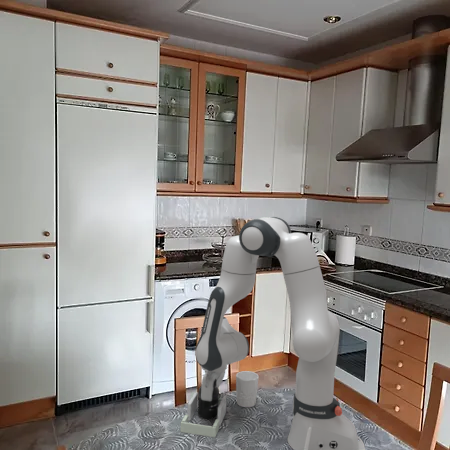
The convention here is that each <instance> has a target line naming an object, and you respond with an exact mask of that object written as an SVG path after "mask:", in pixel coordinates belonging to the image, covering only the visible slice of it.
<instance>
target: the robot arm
mask: <svg viewBox="0 0 450 450" xmlns="http://www.w3.org/2000/svg"><path fill="white" fill-rule="evenodd" d="M291 229H292V228H291V226H290V225H289V223H288V222H287V221H286V220H284V218H283V219H282V218H280V217H278V216H271V217H269V216H268V217H267V216H264V217H263V216H262V217H259V218H255V219H251V220H249V221H247V223H245V224H243V226H242V227H241V229H240V232H239V234H238V235H234V236H232V237H230V238H229V239H227V242H226V243H225V244H226V245H225V248H224V251H223V255H222V263H221V271H220V275H219V276H220V277H219V278H218V282H217V284H216V286H215V287H214V289H213V290H212V291H211V293H210V295H209V297H208V298H209V299H208V301H207V306H206V310H205V314H204V320H203V325H202V328H201V331H200V332H201V333H200V336H199V339H198V341H197V343H196V346H195V352H194V353H195V354H194V356H195V359H196V362H197V363H198V365H199V366H200V368H201V369H202V370H203V371H204V375H203V377H202V380H201V386H202V387H201V386H200V387H201V399H202V400H204V401H212V393H213V383H214V381H215V379H216V380H217V387H218V389H219V388H220V386H221V384H222V382H223V380H224V379H225V374H226V369H228V366H229V365H231V364H233V363H238V362H240V361H243V360H244V359H246V358H247V356H248V355H249V349H250V344H249V341H248V338H247V336H246V335H245V334H243V332H242V331H238V330H236V329H235V328H234V327H233V326H232V325H231V323H230V322H229V320H228V318H227V317H226V316H225V315H226V312H227V311H228V310H229V309H230V308H231V307H232V306H234V305H235V304H236V303H238V302H239V301H240V300H243V299H245V298H246V297H247V296H249V294H251V292H252V291H253V289H254V286H255V284H256V283H255V282H256V276H257V264H258V259H259V257H260V256H262V257H269V258H272V257H274V256H275V257H276V258H277V259H278V261H279V263H280V266H281V272H282V276H283V279H284V284H285V288H286V292H287V295H288V296H287V297H288V299H289V309H290V310H289V311H290V319H291V320H290V321H291V328H292V347H293V351H294V353H295V354H296V355H297V357H298V361H297V365H296V366H297V367H296V374H295V392H294V394H293V399H292V414H293V416H292V421H291V425H290V426H291V427H290V430H289V433H288V435H287V443H288V445H289V446H290V448H291V449H292V450H366V447H365V446H366V445H365V444H364V442H363V440H362V439H361V437H360V436H359V435H358V432H357V429H356V426H355V424H354V423H353V421H351V420H350V419H349V418H348V417H347V416H346V415H344V414H343V409H342V407H341V404H340V402H339V399H338V398H335V397H334V390H335V387H334V386H335V373H336V367H337V366H336V365H337V359H338V350H339V341H340V329H341V328H340V327H341V326H340V322H339V320H338V317H337V316H336V314H334V313H333V312H332V311H330V310H329V307H328V301H327V300H328V299H327V289H326V286H325V281H324V278H323V274H322V270H321V265H320V263H319V257H318V255H317V253H316V250H315V246H314V245H313V242H312V241H311V238H310V237H309V236H308V235H307V234H305V233H303V232H292V230H291ZM206 387H207V388H206ZM358 440H359V441H358Z"/></svg>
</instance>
